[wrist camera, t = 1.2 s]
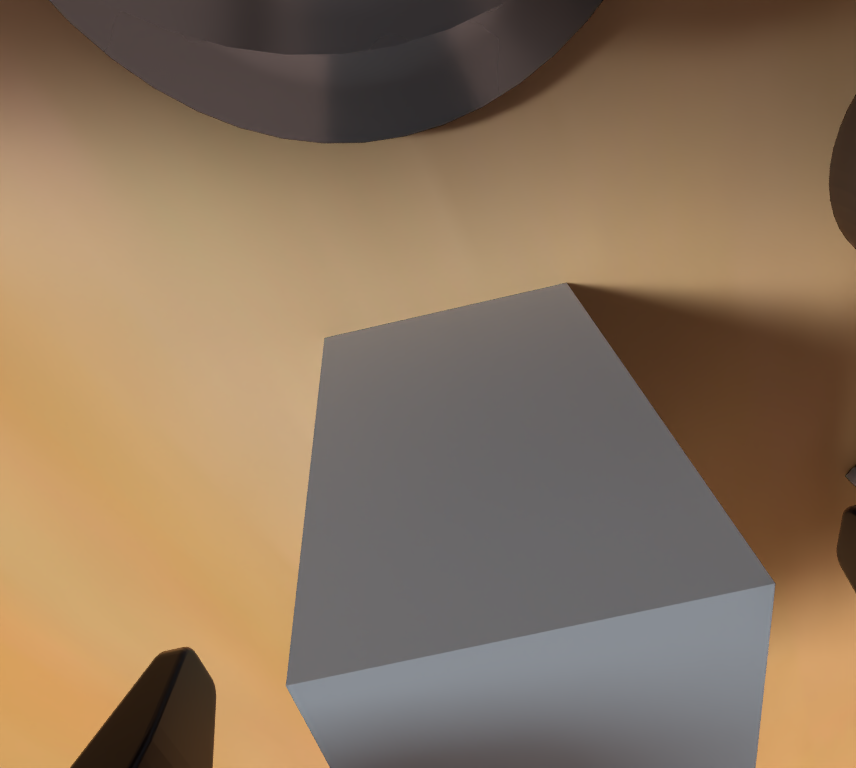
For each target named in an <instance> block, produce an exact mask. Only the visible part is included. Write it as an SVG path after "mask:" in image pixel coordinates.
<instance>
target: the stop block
mask: <svg viewBox="0 0 856 768" xmlns="http://www.w3.org/2000/svg"><path fill="white" fill-rule="evenodd" d="M774 591H775V582H774V581H773V579H772V578H771V577H770V575H769V574H768V572H767V571H766V569H765V568H764V566H763V565H762V564H761V562H760V561H759V559H758V558H757V556H756V555H755V553H754V552H753V551H752V549H751V548H750V546H749V545H748V543H747V542H746V540H745V539H744V538H743V536H742V535H741V533H740V532H739V530H738V529H737V528H736V526H735V525H734V523H733V522H732V520H731V519H730V517H729V516H728V515H727V513H726V512H725V510H724V509H723V507H722V506H721V504H720V503H719V502H718V500H717V499H716V497H715V496H714V494H713V493H712V492H711V490H710V489H709V487H708V486H707V484H706V483H705V481H704V480H703V479H702V477H701V476H700V474H699V473H698V471H697V470H696V468H695V467H694V466H693V464H692V463H691V461H690V460H689V458H688V457H687V456H686V454H685V453H684V451H683V450H682V448H681V447H680V445H679V444H678V443H677V441H676V440H675V438H674V437H673V435H672V434H671V432H670V431H669V430H668V428H667V427H666V425H665V424H664V422H663V421H662V420H661V418H660V417H659V415H658V414H657V412H656V411H655V409H654V408H653V407H652V405H651V404H650V402H649V401H648V399H647V398H646V396H645V395H644V394H643V392H642V391H641V389H640V388H639V386H638V385H637V384H636V382H635V381H634V379H633V378H632V376H631V375H630V373H629V372H628V371H627V369H626V368H625V366H624V365H623V363H622V362H621V360H620V359H619V358H618V356H617V355H616V353H615V352H614V350H613V349H612V347H611V346H610V345H609V343H608V342H607V340H606V339H605V337H604V336H603V335H602V333H601V332H600V330H599V329H598V327H597V326H596V324H595V323H594V322H593V320H592V319H591V317H590V316H589V314H588V313H587V311H586V310H585V309H584V307H583V306H582V304H581V303H580V301H579V300H578V299H577V297H576V296H575V294H574V293H573V291H572V290H571V288H570V287H569V286H568V284H567V283H564V284H559V285H555V286H550V287H546V288H542V289H537V290H533V291H528V292H524V293H520V294H515V295H511V296H507V297H502V298H498V299H493V300H489V301H485V302H480V303H476V304H471V305H467V306H463V307H458V308H454V309H450V310H445V311H441V312H436V313H432V314H428V315H423V316H419V317H415V318H410V319H406V320H401V321H397V322H393V323H388V324H384V325H379V326H375V327H371V328H366V329H362V330H358V331H353V332H349V333H344V334H340V335H336V336H331V337H327V338H324V347H323V356H322V366H321V375H320V384H319V393H318V402H317V411H316V420H315V429H314V438H313V447H312V456H311V465H310V474H309V483H308V492H307V501H306V510H305V519H304V528H303V537H302V546H301V555H300V564H299V573H298V582H297V591H296V600H295V609H294V618H293V627H292V636H291V645H290V654H289V663H288V672H287V681H286V687H287V689H288V691H289V692H290V694H291V696H292V698H293V700H294V702H295V703H296V705H297V707H298V709H299V711H300V713H301V715H302V716H303V718H304V720H305V722H306V724H307V726H308V727H309V729H310V731H311V733H312V735H313V737H314V739H315V740H316V742H317V744H318V746H319V748H320V750H321V752H322V753H323V755H324V757H325V759H326V761H327V763H328V764H329V766H330V768H755V766H756V757H757V748H758V739H759V729H760V720H761V711H762V702H763V693H764V683H765V674H766V665H767V656H768V647H769V637H770V628H771V619H772V610H773V601H774Z"/></svg>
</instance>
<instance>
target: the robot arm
mask: <svg viewBox="0 0 856 768" xmlns="http://www.w3.org/2000/svg"><path fill="white" fill-rule="evenodd" d="M837 557H838V561H839V563H840V566H841V568H842V570H843V571H844V573H845V575H846V577H847V578H848V580H849V582H850V583H851V585H852V587H853V589H854V590H855V592H856V505H854V506H850V507H848V508H847V509H846V510H845V511H844V513H843V516H842V522H841V527H840V533H839V539H838V544H837ZM215 710H216V690H215V685H214V682H213V680H212V678H211V676H210V675H209V673H208V672H207V670H206V668H205V667H204V665H203V664H202V662H201V661H200V659H199V657H198V656H197V654H196V653H195V651H194V650H193V649H191V648H189V647H182V648H177V649H173V650H168V651H164V652H162V653H160V654H159V655H158V656H157V657H156V658H155V659H154V660H153V661H152V662H151V664H150V665H149V666H148V668H147V669H146V670H145V672H144V673H143V674H142V675H141V677H140V678H139V679H138V681H137V682H136V683H135V684H134V686H133V687H132V688H131V690H130V691H129V692H128V694H127V695H126V696H125V697H124V699H123V700H122V701H121V703H120V704H119V705H118V706H117V708H116V709H115V710H114V712H113V713H112V714H111V716H110V717H109V718H108V719H107V721H106V722H105V723H104V725H103V726H102V727H101V728H100V730H99V731H98V732H97V734H96V735H95V736H94V737H93V739H92V740H91V741H90V743H89V744H88V745H87V747H86V748H85V749H84V750H83V752H82V753H81V754H80V756H79V757H78V758H77V759H76V761H75V762H74V763H73V765H72V766H71V767H70V768H213V749H214V729H215Z"/></svg>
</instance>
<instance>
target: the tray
mask: <svg viewBox="0 0 856 768" xmlns="http://www.w3.org/2000/svg"><path fill="white" fill-rule="evenodd" d="M845 477H846V478H847V479H848V480H849V481H850V482H851V483H852V484H853V485H854V486H855V487H856V466H855V467H854V468H853V469H852V470H851V471H850V472H849V473H848V474H847V475H846V476H845Z"/></svg>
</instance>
